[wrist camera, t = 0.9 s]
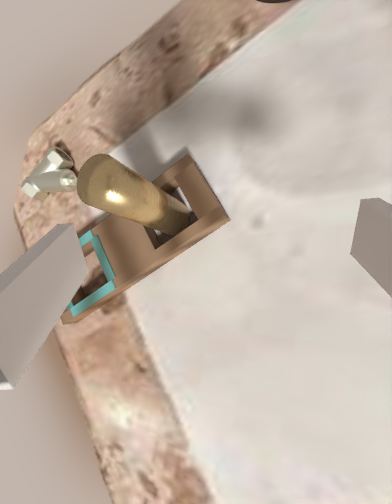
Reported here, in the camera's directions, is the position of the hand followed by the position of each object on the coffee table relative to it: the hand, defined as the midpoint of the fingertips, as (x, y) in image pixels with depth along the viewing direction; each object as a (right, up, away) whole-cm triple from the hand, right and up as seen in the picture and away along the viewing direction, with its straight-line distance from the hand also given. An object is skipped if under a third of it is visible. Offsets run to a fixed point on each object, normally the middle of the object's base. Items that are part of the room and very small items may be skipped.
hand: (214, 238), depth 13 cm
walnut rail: (-9, 0, +24) cm, 26 cm away
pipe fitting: (-22, +10, +31) cm, 40 cm away
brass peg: (-4, +4, +23) cm, 23 cm away
